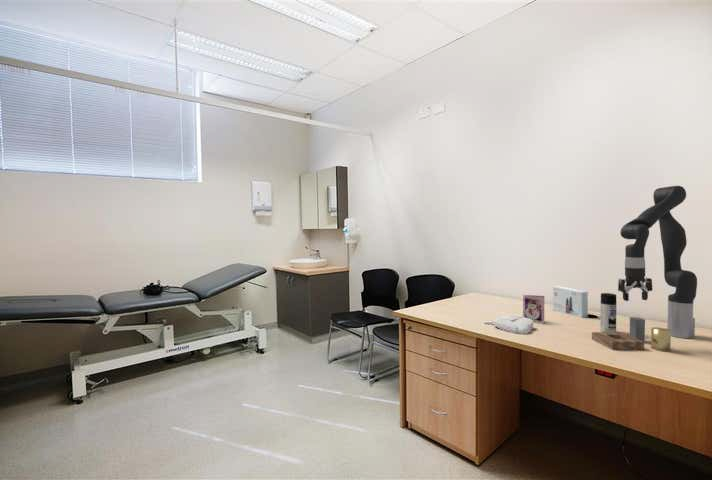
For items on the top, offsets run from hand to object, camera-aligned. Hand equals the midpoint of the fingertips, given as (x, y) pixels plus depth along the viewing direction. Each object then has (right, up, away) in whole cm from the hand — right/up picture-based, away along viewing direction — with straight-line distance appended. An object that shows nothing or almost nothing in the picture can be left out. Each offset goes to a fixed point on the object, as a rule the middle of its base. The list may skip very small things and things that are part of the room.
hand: (635, 300), depth 163 cm
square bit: (+2, -20, +2) cm, 20 cm away
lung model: (-50, -20, +26) cm, 60 cm away
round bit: (+4, -20, -9) cm, 23 cm away
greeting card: (-28, -19, +37) cm, 50 cm away
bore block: (-11, -20, -2) cm, 23 cm away
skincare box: (+2, -18, +54) cm, 57 cm away
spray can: (-1, -20, +16) cm, 25 cm away
